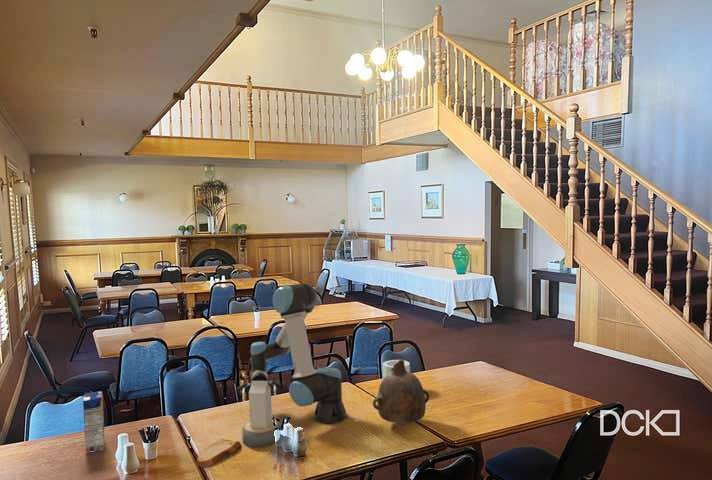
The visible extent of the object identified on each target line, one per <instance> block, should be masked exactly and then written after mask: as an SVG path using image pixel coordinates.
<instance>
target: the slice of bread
mask: <svg viewBox="0 0 712 480" xmlns="http://www.w3.org/2000/svg"><path fill="white" fill-rule="evenodd" d="M240 447H241V442H240V441H239V440H236V441H234V440H231V439H224V438H223V439H219V440H217V441H215V442H213V443H211V444H209V445H208V446H207V447H205V448H204V449H203V450H202V451H201V453H199V454H198V456H197V458H196V465H197V466H198V467H200V468H208V467H210V466H212V465H214V464H216V463H218V462H220V461H221V460H224V459H225V458H227V457H228V456H230V455H231V454H233V453H234V452H235V451H236V450H237V449H238V448H240ZM207 466H208V467H207Z"/></svg>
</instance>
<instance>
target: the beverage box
mask: <svg viewBox="0 0 712 480" xmlns="http://www.w3.org/2000/svg"><path fill="white" fill-rule="evenodd" d="M103 398H104V397H103V390H100V391H94V392H87V393H84V394H83V400H82V402H83V407H82V408H83V422H84V442H85V453H86V452H90V451H95V450H100V449H104V446H105V442H106V441H105V440H106V439H105V438H106V437H105V419H104V418H105V417H104V400H103ZM104 450H105V449H104Z"/></svg>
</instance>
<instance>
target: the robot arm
mask: <svg viewBox="0 0 712 480" xmlns="http://www.w3.org/2000/svg"><path fill="white" fill-rule="evenodd" d="M317 301H318V293H317V291H316V289H315V287H313V286H312V285H311V284H309V283H304V282H303V283H298V284H289V285H284V286H280V287H277V289H276V290H275V291H274V293H273V295H272V307H273V309H274V310H275V311H276V312H277V313H279V314H280V318H281V319H283V320H284V322H285V323H284V324H283V325H282V327H281V329H280V331H279V332H278V335H277V336H276V338H275V340H274V341H273V342H270V343H267V344H266V342H265V341H256V342H255V341H254V342H252V344H251V345H250V358H251V359H250V360H251V361H250V362H251V381H250V382H247V381H244V383H242V384H240V385H239V386H238V387H236V389H235V391H236V392H235V393H236V395H239V396H240V397H242V398H241V399H242V400H245V397H246V394H247V393H249V391H250V387H251V384H252V381H267V384H268V385H269V386H270V388H271V391H273V394H274V395H273V396H274V397H277V393H278V392H279V391H281V390H282V391H283V384H282V383H280V382H278V381H276V380H275V379H273V378H272V379H271V380H268V361H269V360H273V359H275V358H279V357H283V356H285V355H288V354H289V353H290V355H291V360H292V365H293V371H294V373H293V375H292V376H291V378H292V379H291V380H292V382H291V383H290V384H289V387H288V390H289V391H288V392H289V393H288V394H289V396H290V399H291V400H292V401H293V402H294V403H295V405H297V406H299V407H307V406H311V405H313V404H316V407H315V410H314V413H313V414H314V415H313V418H314V421H315V422H318V423H322V424H333V423H339V422H342V421H344V420H345V419H346V418H347V411H346V408H345V405H344V402H343V394H342V393H343V391H342V390H343V389H342V387H343V386H342V372H341V371H340V370H339V368H335V367H326V366H325V367H318V368H317V369H316V368H314V364H313V359H312V354H311V349H310V344H309V343H310V342H309V340H308V339H309V338H308V335H307V334H308V333H307V329H306V324H305V319H306V317H307V316H308V315H309V314H311V313H312V312H313V310H314V309H315V307H316V306H317V305H316V304H317Z"/></svg>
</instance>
